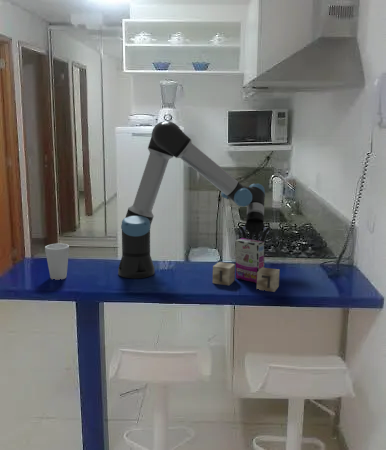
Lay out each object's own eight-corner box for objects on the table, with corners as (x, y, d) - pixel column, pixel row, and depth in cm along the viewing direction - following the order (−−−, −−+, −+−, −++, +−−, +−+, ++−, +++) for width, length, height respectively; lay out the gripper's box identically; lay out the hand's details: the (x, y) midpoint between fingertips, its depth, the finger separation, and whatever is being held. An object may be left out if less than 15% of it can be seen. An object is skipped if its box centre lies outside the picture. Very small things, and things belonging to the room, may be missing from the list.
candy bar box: (265, 280, 196) (265, 241, 192) (258, 284, 193) (258, 244, 188) (242, 274, 203) (241, 237, 199) (235, 278, 200) (234, 239, 196)
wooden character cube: (212, 283, 193) (212, 266, 192) (218, 278, 200) (218, 261, 198) (228, 285, 191) (229, 268, 189) (234, 280, 197) (235, 263, 196)
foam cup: (75, 275, 200) (74, 245, 198) (60, 282, 192) (58, 250, 189) (56, 272, 204) (55, 242, 202) (41, 278, 196) (39, 247, 193)
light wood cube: (256, 289, 187) (257, 272, 185) (261, 284, 193) (262, 267, 192) (274, 292, 184) (275, 274, 182) (278, 286, 190) (279, 269, 189)
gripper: (270, 220, 215) (268, 268, 202) (240, 219, 217) (237, 266, 204) (270, 211, 209) (269, 259, 196) (240, 210, 211) (236, 257, 198)
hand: (252, 262), depth 200 cm, fingers closed
